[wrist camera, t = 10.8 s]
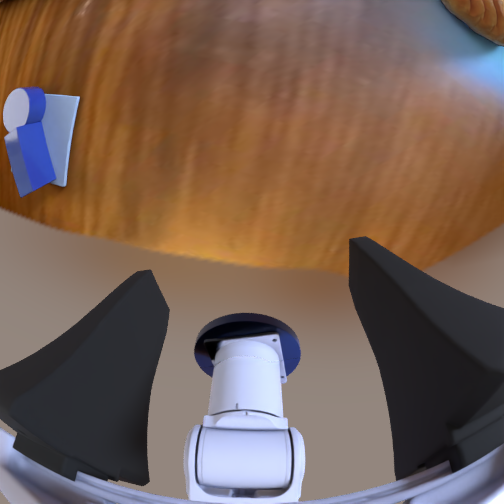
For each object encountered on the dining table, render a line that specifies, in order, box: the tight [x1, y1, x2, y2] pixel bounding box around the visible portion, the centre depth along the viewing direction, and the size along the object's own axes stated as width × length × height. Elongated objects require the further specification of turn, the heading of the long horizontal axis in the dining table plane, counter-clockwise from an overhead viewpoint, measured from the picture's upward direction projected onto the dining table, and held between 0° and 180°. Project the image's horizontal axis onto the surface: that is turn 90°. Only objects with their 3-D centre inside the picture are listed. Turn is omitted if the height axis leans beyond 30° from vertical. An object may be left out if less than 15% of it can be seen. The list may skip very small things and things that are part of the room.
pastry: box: [441, 0, 504, 47], centre depth 7 cm, size 9×7×4 cm
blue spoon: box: [3, 87, 56, 198], centre depth 13 cm, size 8×4×3 cm, turn 11°
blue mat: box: [11, 94, 80, 187], centre depth 15 cm, size 7×7×1 cm
